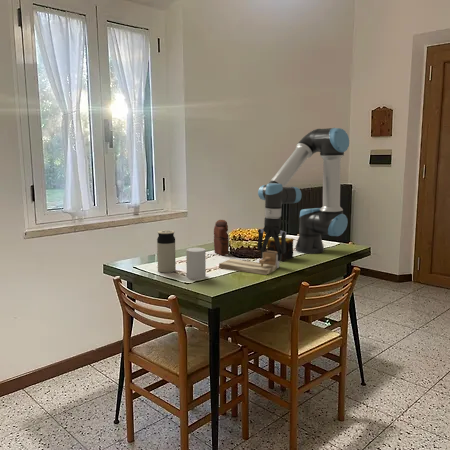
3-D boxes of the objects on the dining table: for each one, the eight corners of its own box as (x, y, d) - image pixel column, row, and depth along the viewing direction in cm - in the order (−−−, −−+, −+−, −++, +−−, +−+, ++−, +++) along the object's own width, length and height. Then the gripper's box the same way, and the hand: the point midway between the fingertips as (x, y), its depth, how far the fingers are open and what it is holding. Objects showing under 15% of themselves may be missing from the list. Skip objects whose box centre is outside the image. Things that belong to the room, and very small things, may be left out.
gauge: (267, 264, 216) (267, 250, 215) (278, 266, 213) (279, 252, 212) (254, 271, 204) (255, 255, 203) (267, 273, 201) (267, 257, 200)
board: (230, 262, 220) (230, 258, 219) (276, 269, 208) (276, 265, 208) (219, 267, 210) (219, 263, 210) (266, 274, 199) (266, 270, 198)
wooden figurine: (231, 255, 236) (232, 220, 233) (220, 256, 233) (220, 221, 231) (222, 250, 247) (222, 217, 244) (211, 251, 244) (211, 218, 241)
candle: (283, 261, 222) (284, 241, 221) (265, 259, 229) (266, 239, 227) (293, 258, 231) (294, 238, 229) (276, 255, 237) (276, 236, 235)
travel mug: (178, 269, 207) (178, 230, 204) (170, 273, 200) (170, 233, 197) (162, 267, 210) (162, 229, 207) (154, 272, 203) (153, 232, 200)
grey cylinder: (191, 273, 200) (191, 247, 198) (208, 275, 197) (208, 248, 195) (183, 278, 193) (183, 250, 191) (200, 280, 190) (200, 252, 188)
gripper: (250, 216, 210) (248, 265, 213) (289, 220, 201) (286, 271, 204) (257, 214, 216) (255, 261, 220) (295, 218, 207) (292, 267, 211)
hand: (270, 266), depth 212 cm, fingers closed on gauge, 6 cm apart
